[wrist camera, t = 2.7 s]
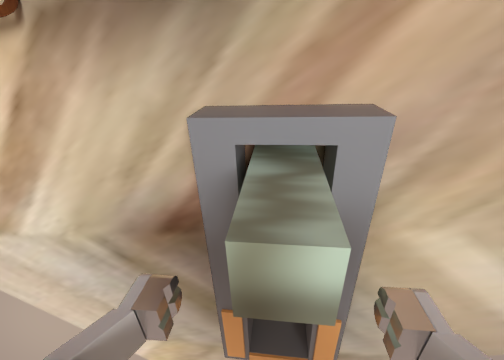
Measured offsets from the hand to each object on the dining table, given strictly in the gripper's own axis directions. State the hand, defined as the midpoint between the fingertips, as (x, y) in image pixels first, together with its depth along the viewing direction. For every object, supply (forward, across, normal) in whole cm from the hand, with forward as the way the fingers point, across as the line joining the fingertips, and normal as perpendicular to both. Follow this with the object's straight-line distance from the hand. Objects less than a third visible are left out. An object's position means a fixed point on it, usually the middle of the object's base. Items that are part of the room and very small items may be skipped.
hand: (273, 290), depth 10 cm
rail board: (+12, -1, +9) cm, 15 cm away
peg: (+12, -1, 0) cm, 12 cm away
